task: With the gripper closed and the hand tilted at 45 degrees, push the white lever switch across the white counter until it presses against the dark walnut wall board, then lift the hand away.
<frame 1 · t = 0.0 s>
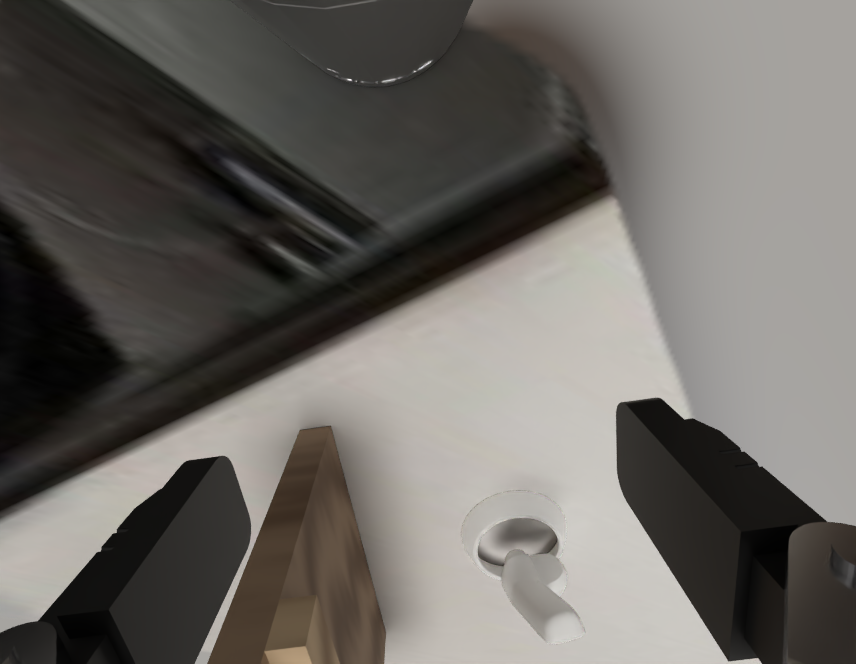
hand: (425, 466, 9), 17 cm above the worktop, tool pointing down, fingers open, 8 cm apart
white lever switch: (513, 528, 33), on the worktop
wall board: (347, 543, 33), on the worktop
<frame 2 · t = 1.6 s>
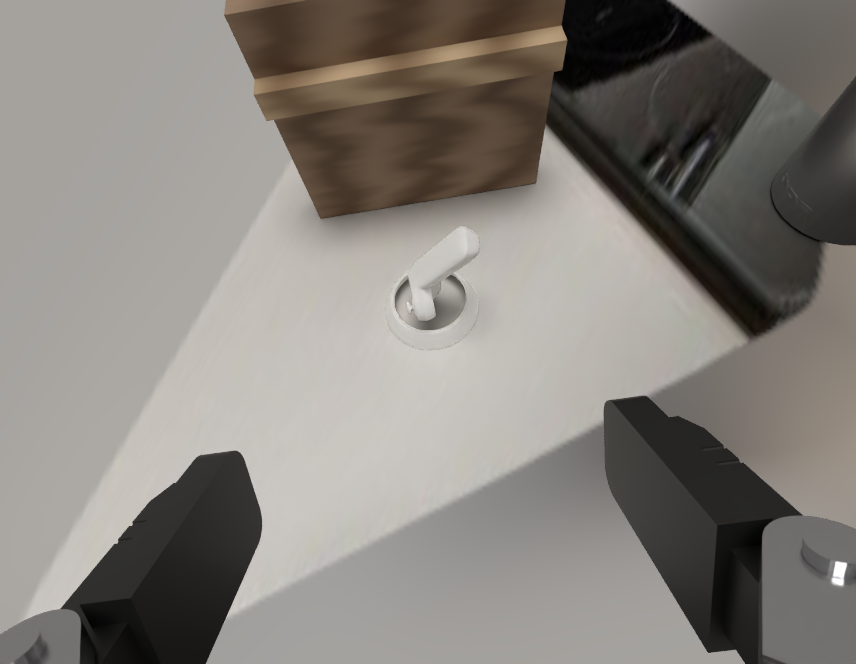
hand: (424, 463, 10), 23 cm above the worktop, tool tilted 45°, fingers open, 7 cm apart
white lever switch: (432, 308, 38), on the worktop
wall board: (426, 192, 43), on the worktop
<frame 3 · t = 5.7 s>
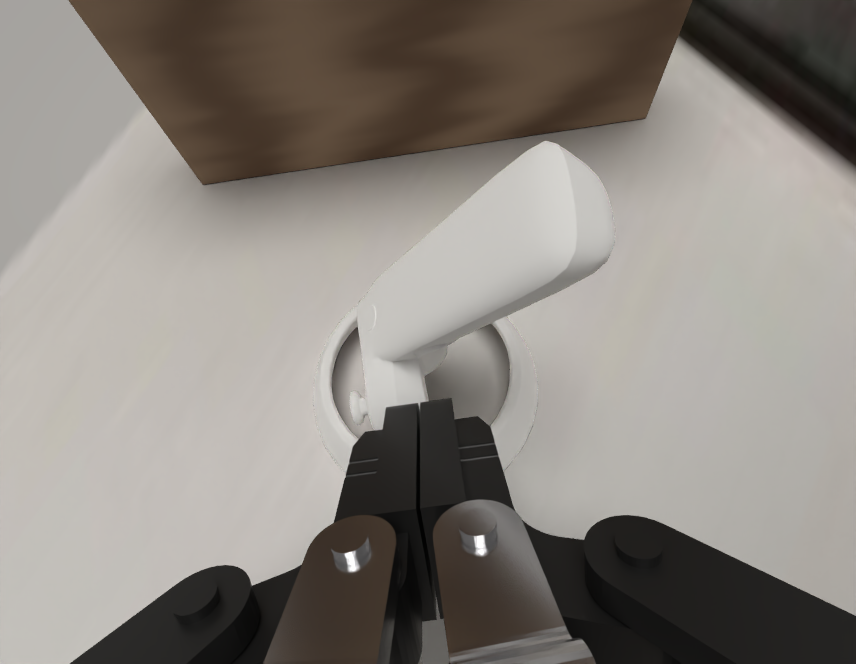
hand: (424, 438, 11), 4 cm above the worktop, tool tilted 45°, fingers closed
white lever switch: (425, 387, 16), on the worktop, touching gripper
wall board: (418, 136, 21), on the worktop
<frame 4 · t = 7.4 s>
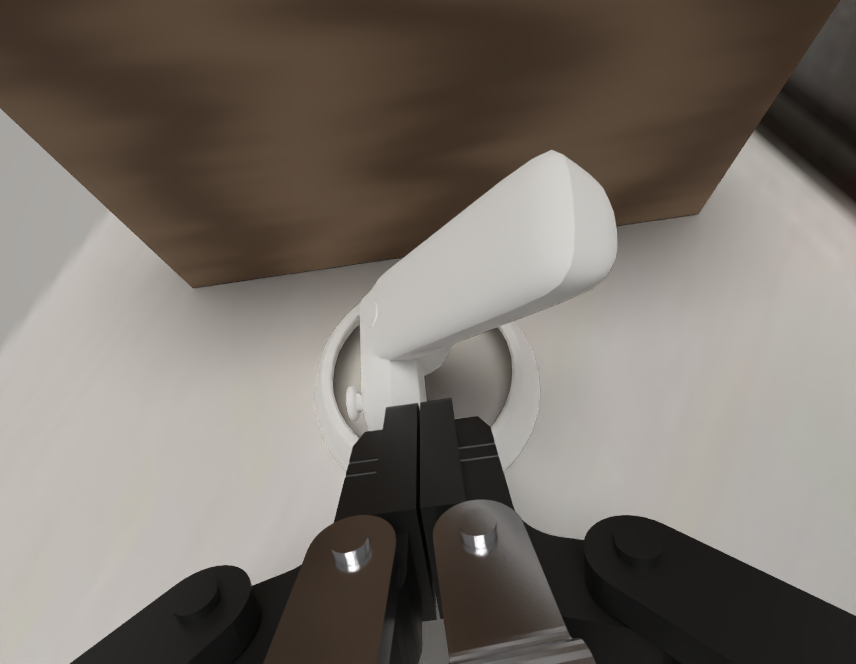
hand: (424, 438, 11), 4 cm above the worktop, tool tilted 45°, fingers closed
white lever switch: (427, 385, 16), on the worktop, touching gripper
wall board: (437, 231, 18), on the worktop
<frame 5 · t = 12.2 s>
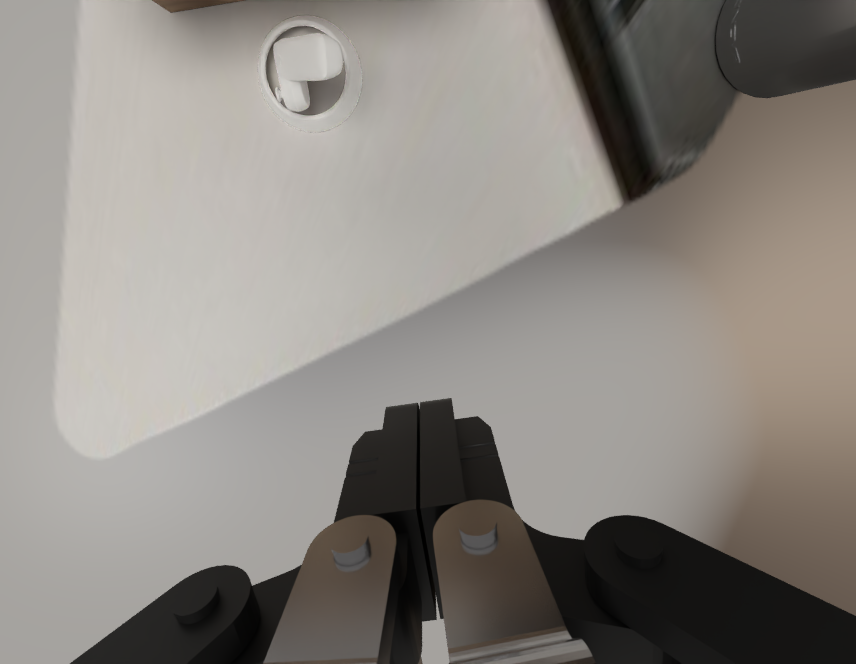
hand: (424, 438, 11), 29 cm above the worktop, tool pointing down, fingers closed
white lever switch: (311, 77, 34), on the worktop
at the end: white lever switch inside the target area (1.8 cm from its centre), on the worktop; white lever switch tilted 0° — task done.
